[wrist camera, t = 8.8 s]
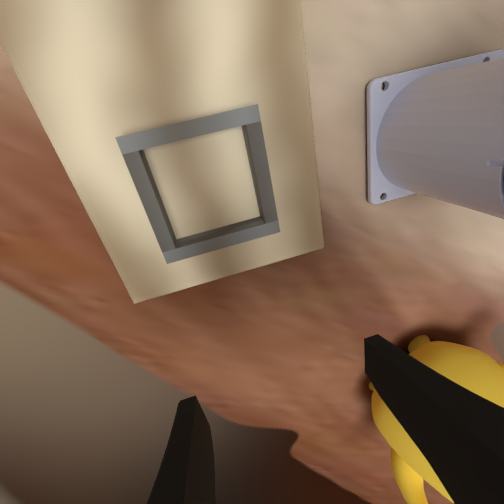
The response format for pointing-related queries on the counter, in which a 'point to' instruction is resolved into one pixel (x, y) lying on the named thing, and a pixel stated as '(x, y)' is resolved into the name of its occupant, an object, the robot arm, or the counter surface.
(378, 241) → the counter surface
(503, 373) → the teapot
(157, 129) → the socket board
